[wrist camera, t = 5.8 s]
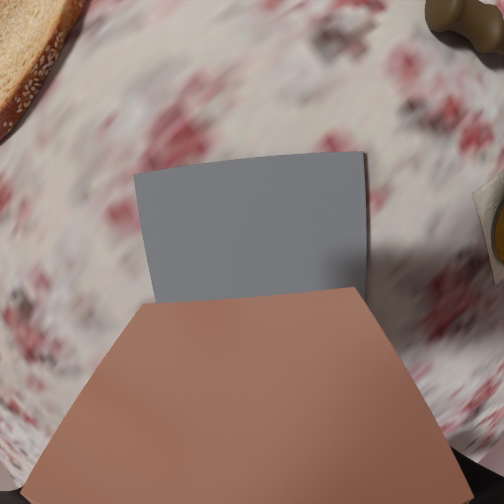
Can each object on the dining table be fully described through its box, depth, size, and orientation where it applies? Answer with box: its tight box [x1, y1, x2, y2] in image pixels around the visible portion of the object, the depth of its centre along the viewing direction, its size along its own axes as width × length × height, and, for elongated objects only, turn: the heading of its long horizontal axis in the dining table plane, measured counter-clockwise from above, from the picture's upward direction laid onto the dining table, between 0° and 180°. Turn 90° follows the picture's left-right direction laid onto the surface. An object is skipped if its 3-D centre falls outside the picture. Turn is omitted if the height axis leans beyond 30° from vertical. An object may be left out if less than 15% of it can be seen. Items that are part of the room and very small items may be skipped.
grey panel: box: [134, 152, 367, 303], centre depth 19 cm, size 14×12×1 cm
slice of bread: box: [0, 0, 87, 140], centre depth 13 cm, size 18×18×4 cm
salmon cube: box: [20, 287, 474, 504], centre depth 7 cm, size 7×7×7 cm
